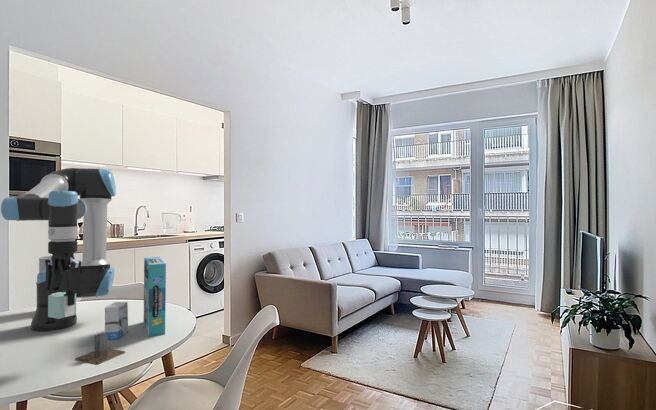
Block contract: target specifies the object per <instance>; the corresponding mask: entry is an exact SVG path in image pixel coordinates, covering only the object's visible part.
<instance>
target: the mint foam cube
mask: <svg viewBox="0 0 656 410" xmlns="http://www.w3.org/2000/svg"><path fill="white" fill-rule="evenodd" d="M63 294H66V292H63V293H58V294H53V295H48V317H52V318H57V319H60V318H64V295H63ZM74 315H76V316H77V298H76V294H75V304H74ZM71 316H72V315H71Z"/></svg>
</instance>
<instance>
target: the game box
mask: <svg viewBox="0 0 656 410" xmlns="http://www.w3.org/2000/svg"><path fill="white" fill-rule="evenodd" d="M143 262H144V263H143V265H144V267H143V324H144V328H145V331H146V335H147V337H155V336H161V335H166V288H167V284H166V283H167V280H166V279H167V277H166V276H167V269H166V268H167V264H166V262H165V261H164V260H163V259H162V258H161V257H160V256H151V257H144V258H143Z"/></svg>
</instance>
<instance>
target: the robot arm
mask: <svg viewBox="0 0 656 410" xmlns="http://www.w3.org/2000/svg"><path fill="white" fill-rule="evenodd" d="M116 189H117V188H116V182H115V177H114V174H113V172H112V171H111V170H110V169H105V168H104V169H103V168H83V167H82V168H81V167H80V168H79V167H68V168H67V167H66V168H61V169H58V170H56V171H53V172H50V173H48V174H46V175H45V176H44V177H42V178H41V179H40V182H39V183H38V184H37V185H35V186H34V187H32V188H31V189H30V190H28V191H27V192H26V193H24V194H22V195H21V196H9V197H5V198H3V200H2V202H1V206H0V212H1V216H2V218H3V219H4V220H5V221H16V222H20V221H21V222H23V221H47V223H48V225H47V226H48V227H47V228H48V229H47V234H48V237H47V238H48V239H47V240H49V241H48V242H47V253H48V254H50V255H51V256H52V257H51V259H46V260H45V264H46V270H43V271H41V272H39V271H38V273H37V274H36V275H37V276H36V282H35V284H36V309H35V312H34V314H33V317H32V319H31V323H30V329H31V330H32V331H37V332H42V331H43V332H44V331H45V332H49V331H54V330H60V329H64V328H68V327H72V326H74V325H75V324H76V323H77V321H78V320H77V319H78V317H77V314H76V315H74V304H75V294H76V299H80V298H91V297H92V298H93V297H96V298H98V297H103V296H107V295H108V294H110V293H111V290H112V287H113V283H114V277H115V268H114V267H111V262H109V261H108V260H107V240H108V239H107V237H108V236H107V235H108V234H107V233H108V232H107V231H108V204H109V203H111V201H112V197H115V196H116V193H117V190H116ZM82 218H83V221H82V222H83V223H82V224H83V226H82V260H76V259H75V253H76V252H78V241H77V239H79V238H78V237H79V236H78V231H79V229H78V220H79V219H82ZM63 292H66V294H63V295H64V318H60V319H57V318H52V317H48V295H53V294H58V293H63ZM71 315H72V316H71Z"/></svg>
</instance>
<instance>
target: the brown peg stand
mask: <svg viewBox="0 0 656 410" xmlns="http://www.w3.org/2000/svg"><path fill="white" fill-rule="evenodd" d="M93 339H94V342H93V343H94V345H93V347H94V348H93V349H94V351H91V352H88V353H86V354H83V355H81V356H77V357H74V360H75V361H80V362H85V363H90V364H94V365H101V364H102V363H104V362H106V361H109V360H111V359H114V358H116V357H119V356H121V355H124V354H125V353H127V352H126V351H125V350H121V349H114V348H110V347H108V340H109V339H108V334H106V333H105V332H100V333H97V334H95V335H94V338H93Z"/></svg>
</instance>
